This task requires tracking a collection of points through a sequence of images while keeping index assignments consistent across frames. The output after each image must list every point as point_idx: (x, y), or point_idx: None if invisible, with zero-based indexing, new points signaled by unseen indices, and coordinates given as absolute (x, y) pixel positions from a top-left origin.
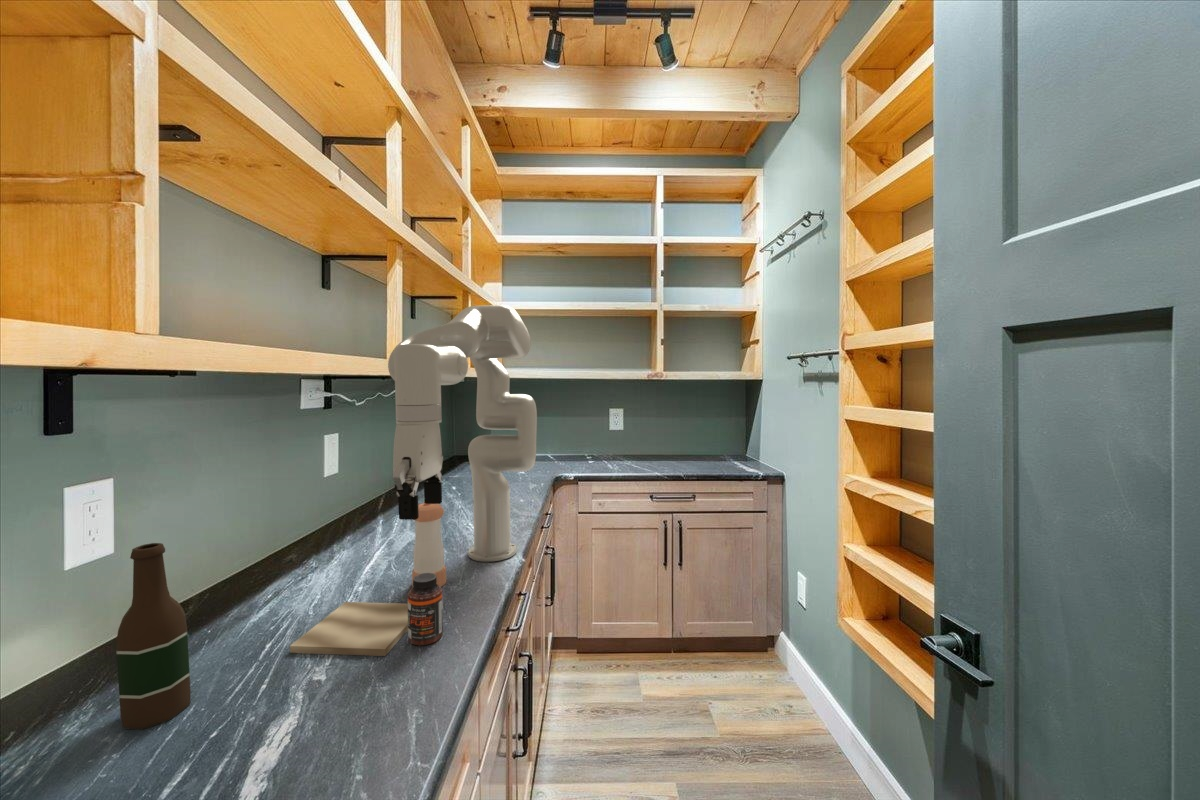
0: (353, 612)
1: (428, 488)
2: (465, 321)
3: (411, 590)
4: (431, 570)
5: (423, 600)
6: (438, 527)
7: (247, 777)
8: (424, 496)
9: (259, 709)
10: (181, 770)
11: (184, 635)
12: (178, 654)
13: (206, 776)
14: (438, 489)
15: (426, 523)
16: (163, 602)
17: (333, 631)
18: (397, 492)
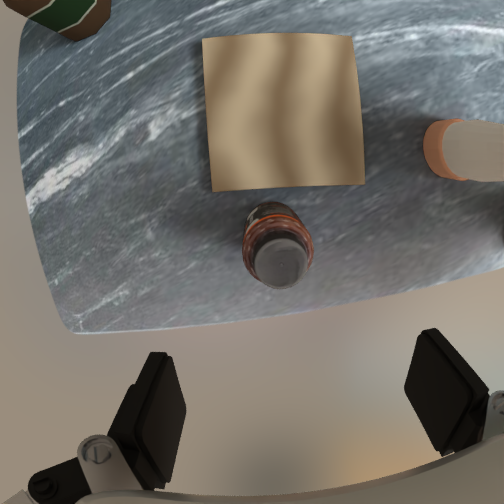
0: (319, 67)
1: (446, 397)
2: None
3: (265, 230)
4: (449, 163)
5: (245, 265)
6: None
7: (32, 188)
8: (434, 350)
9: (93, 111)
10: (30, 124)
11: (46, 7)
12: (50, 17)
13: (28, 152)
14: (428, 430)
15: None
16: None
17: (251, 72)
18: (80, 454)
